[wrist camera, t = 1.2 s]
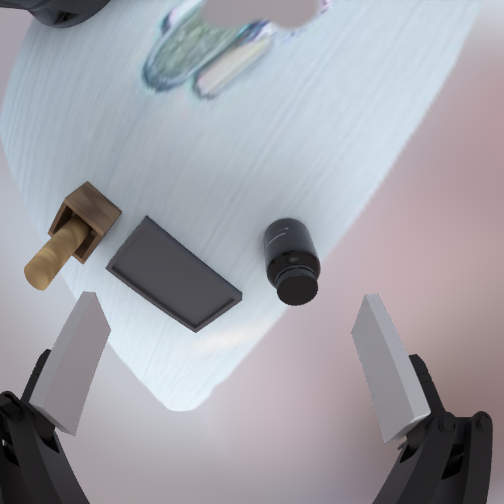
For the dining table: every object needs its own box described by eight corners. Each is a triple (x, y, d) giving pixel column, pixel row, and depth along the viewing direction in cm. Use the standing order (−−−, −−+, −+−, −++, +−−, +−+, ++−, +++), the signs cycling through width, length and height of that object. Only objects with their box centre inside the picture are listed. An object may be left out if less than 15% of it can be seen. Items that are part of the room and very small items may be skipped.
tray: (109, 262, 43) (105, 268, 42) (146, 215, 39) (143, 220, 38) (196, 325, 52) (195, 332, 50) (242, 293, 47) (242, 300, 46)
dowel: (78, 215, 38) (21, 276, 24) (88, 199, 37) (27, 258, 23) (94, 229, 39) (43, 295, 26) (105, 214, 38) (50, 279, 25)
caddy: (68, 214, 38) (47, 233, 33) (87, 181, 36) (65, 197, 30) (100, 241, 41) (83, 264, 36) (122, 211, 39) (104, 232, 33)
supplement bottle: (270, 212, 40) (278, 260, 29) (315, 222, 41) (337, 271, 30) (258, 252, 43) (261, 307, 33) (300, 261, 44) (315, 315, 34)
